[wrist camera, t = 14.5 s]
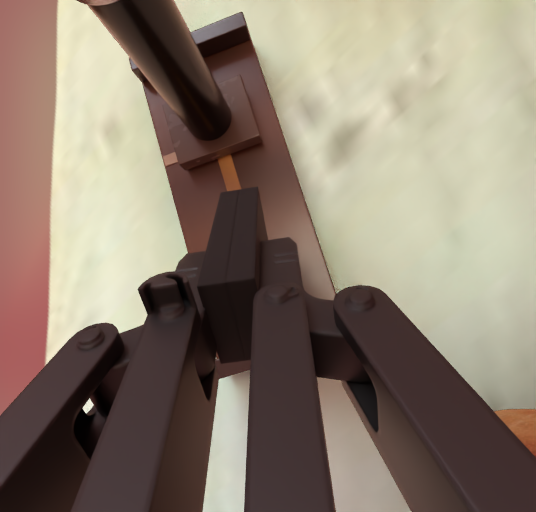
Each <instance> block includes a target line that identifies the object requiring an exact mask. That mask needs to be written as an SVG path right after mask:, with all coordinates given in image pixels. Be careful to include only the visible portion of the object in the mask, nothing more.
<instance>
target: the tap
mask: <svg viewBox="0 0 536 512" xmlns="http://www.w3.org/2000/svg"><path fill="white" fill-rule="evenodd" d="M77 1H79V2H81V3H84V4H87V5H88V6H89V7H90V9H91V10H92V11H93V12H94V14H95V15H96V16H97V17H98V18H99V20H100V21H101V22H102V23H103V25H104V26H105V27H106V28H107V30H108V31H109V32H110V33H111V35H112V36H113V37H114V38H115V40H116V41H117V42H118V43H119V45H120V46H121V47H122V48H123V49H124V51H125V52H126V53H127V54H128V56H129V57H130V58H131V59H132V61H133V62H134V63H135V64H136V66H137V67H138V68H139V69H140V71H141V72H142V73H143V74H144V75H145V77H146V78H147V79H148V80H149V82H150V83H151V84H152V85H153V87H154V88H155V89H156V90H157V92H158V93H159V94H160V95H161V97H162V98H163V99H164V100H165V102H166V103H165V104H163V105H162V106H163V110H164V113H165V117H166V121H167V124H168V128H169V132H170V135H171V139H172V142H173V146H174V150H175V153H176V157H177V160H178V164H179V165H180V166H181V167H182V168H183V169H184V170H188V169H190V168H193V167H196V166H198V165H201V164H204V163H207V162H209V161H212V160H215V159H218V158H220V157H223V156H226V155H229V154H231V153H234V152H237V151H240V150H242V149H245V148H248V147H251V146H253V145H256V144H259V143H262V142H263V141H262V138H261V135H260V131H259V128H258V125H257V122H256V119H255V116H254V113H253V110H252V107H251V103H250V100H249V97H248V94H247V91H246V88H245V85H244V82H243V80H242V77H241V75H238V76H235V77H233V78H230V79H227V80H225V81H222V82H220V83H216V81H215V79H214V77H213V75H212V73H211V71H210V69H209V67H208V65H207V63H206V61H205V60H204V58H203V56H202V54H201V52H200V50H199V48H198V46H197V44H196V42H195V40H194V38H193V36H192V34H191V33H190V31H189V29H188V27H187V25H186V23H185V21H184V19H183V17H182V15H181V13H180V11H179V9H178V7H177V6H176V4H175V2H174V0H77Z"/></svg>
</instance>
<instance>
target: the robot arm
mask: <svg viewBox="0 0 536 512" xmlns="http://www.w3.org/2000/svg"><path fill="white" fill-rule="evenodd" d="M138 291H139V294H140V296H141V299H142V301H143V304H144V306H145V309H146V311H147V314H148V315H147V318H146V321H145V323H144V325H141V326H139V327H137V328H134V329H131V330H128V331H125V332H123V333H120V334H119V332H118V330H117V328H116V327H115V326H114V325H113V324H109V323H99V324H94V325H92V326H88V327H86V328H84V329H83V330H81V331H79V332H77V333H76V334H75V335H74V336H73V337H72V338H70V339H69V340H68V342H67V343H66V344H65V345H64V346H63V347H62V348H61V349H60V350H59V351H58V353H57V354H56V355H55V356H54V357H53V358H52V359H51V360H50V361H49V362H48V364H47V365H46V366H45V367H44V368H43V369H42V370H41V371H40V372H39V374H38V375H37V376H36V377H35V378H34V379H33V380H32V381H31V382H30V383H29V385H28V386H27V387H26V388H25V389H24V390H23V391H22V392H21V393H20V394H19V396H18V397H17V398H16V399H15V400H14V401H13V402H12V403H11V404H10V405H9V407H8V408H7V409H6V410H5V411H4V412H3V413H2V414H1V416H0V512H202V510H203V502H204V494H205V486H206V478H207V470H208V461H209V453H210V445H211V437H212V429H213V421H214V413H215V405H216V397H217V389H218V381H219V376H218V371H217V367H216V364H215V359H216V352H217V353H218V357H219V360H220V363H221V364H224V363H232V362H239V361H247V360H251V366H250V389H249V412H248V435H247V458H246V481H245V504H244V512H336V510H335V503H334V496H333V489H332V482H331V475H330V468H329V461H328V454H327V447H326V440H325V433H324V426H323V419H322V412H321V405H320V398H319V391H318V383H317V377H322V378H329V379H336V380H341V381H342V385H343V387H344V389H345V391H346V393H347V394H348V396H349V398H350V400H351V402H352V404H353V405H354V407H355V409H356V411H357V413H358V414H359V416H360V418H361V420H362V422H363V424H364V425H365V427H366V429H367V431H368V433H369V435H370V436H371V438H372V440H373V442H374V444H375V446H376V447H377V449H378V451H379V453H380V455H381V457H382V458H383V460H384V462H385V464H386V466H387V468H388V469H389V471H390V473H391V475H392V477H393V478H394V480H395V482H396V484H397V486H398V488H399V489H400V491H401V493H402V495H403V497H404V499H405V500H406V502H407V504H408V506H409V508H410V510H411V511H412V512H536V457H535V456H534V455H533V454H532V453H531V452H530V450H529V449H528V448H527V447H526V446H525V445H524V444H523V443H522V442H521V441H520V440H519V438H518V437H517V436H516V435H515V434H514V433H513V432H512V431H511V430H510V429H509V428H508V426H507V425H506V424H505V423H504V422H503V421H502V420H501V419H500V418H499V417H498V416H497V414H496V413H495V412H494V411H493V410H492V409H491V408H490V407H489V406H488V405H487V404H486V402H485V401H484V400H483V399H482V398H481V397H480V396H479V395H478V394H477V393H476V392H475V391H474V389H473V388H472V387H471V386H470V385H469V384H468V383H467V382H466V381H465V380H464V379H463V377H462V376H461V375H460V374H459V373H458V372H457V371H456V370H455V369H454V368H453V367H452V365H451V364H450V363H449V362H448V361H447V360H446V359H445V358H444V357H443V356H442V355H441V353H440V352H439V351H438V350H437V349H436V348H435V347H434V346H433V345H432V344H431V343H430V341H429V340H428V339H427V338H426V337H425V336H424V335H423V334H422V333H421V332H420V331H419V330H418V328H417V327H416V326H415V325H414V324H413V323H412V322H411V321H410V320H409V319H408V318H407V316H406V315H405V314H404V313H403V312H402V311H401V310H400V309H399V308H398V307H397V306H396V304H395V303H394V302H393V301H392V300H391V299H390V298H389V297H388V296H387V295H386V294H385V293H384V292H383V291H381V290H380V289H378V288H374V287H371V286H362V285H358V286H352V287H348V288H346V289H343V290H341V291H340V292H339V293H338V294H336V295H335V297H334V300H325V299H319V298H316V297H313V296H311V295H310V294H308V293H307V292H306V291H305V290H304V287H303V282H302V276H301V269H300V262H299V256H298V249H297V243H296V242H295V241H293V240H292V239H291V238H290V237H285V238H279V239H272V240H268V236H267V231H266V226H265V220H264V215H263V210H262V205H261V199H260V194H259V189H258V186H257V187H251V188H245V189H239V190H233V191H227V192H221V193H220V197H219V201H218V205H217V209H216V213H215V217H214V221H213V225H212V229H211V233H210V237H209V241H208V245H207V248H206V251H201V252H194V253H188V254H186V255H185V256H184V257H183V258H182V259H181V260H180V261H179V263H178V266H177V268H176V272H166V273H162V274H158V275H156V276H154V277H151V278H149V279H148V280H146V281H145V282H144V283H142V285H141V286H140V287H139V288H138ZM89 398H90V399H91V401H92V403H93V404H94V406H93V407H92V409H91V410H90V411H89V412H88V413H87V414H86V413H85V412H84V410H83V409H82V408H83V406H84V405H85V404H86V402H87V401H88V399H89Z"/></svg>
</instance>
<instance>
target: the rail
mask: <svg viewBox="0 0 536 512" xmlns="http://www.w3.org/2000/svg"><path fill="white" fill-rule="evenodd" d="M190 33H191V34H192V36H193V38H194V40H195V42H196V44H197V46H198V48H199V50H200V52H201V54H202V56H203V58H204V60H205V61H206V63H207V65H208V67H209V69H210V71H211V73H212V75H213V77H214V79H215V81H216V83H220V82H222V81H225V80H227V79H230V78H233V77H235V76H238V75H241V77H242V80H243V82H244V85H245V88H246V91H247V94H248V97H249V100H250V103H251V107H252V110H253V113H254V116H255V119H256V122H257V125H258V128H259V131H260V135H261V138H262V141H263V142H262V143H259V144H256V145H253V146H251V147H248V148H245V149H242V150H240V151H237V152H234V153H231V154H229V155H226V156H223V157H220V158H218V159H215V160H212V161H209V162H207V163H204V164H201V165H198V166H196V167H193V168H190V169H188V170H184V169H183V168H182V167H181V166H180V165H179V164H178V160H177V157H176V153H175V150H174V146H173V142H172V139H171V135H170V132H169V128H168V124H167V121H166V117H165V113H164V110H163V106H162V105H163V104H165V103H166V102H165V100H164V99H163V98H162V97H161V95H160V94H159V93H158V92H157V90H156V89H155V88H154V87H153V85H152V84H151V83H150V82H149V80H148V79H147V78H146V77H145V75H144V74H143V73H142V72H141V71H140V69H139V68H138V67H137V66H136V64H135V63H134V62H133V61H132V59H131V58H130V57H129V61H130V65H131V68H132V71H133V72H134V73H135V75H136V76H137V77H138V78H139V79H140V81H141V82H142V84H143V87H144V91H145V95H146V98H147V102H148V106H149V110H150V113H151V117H152V121H153V124H154V128H155V132H156V135H157V139H158V143H159V147H160V150H161V154H162V158H163V161H164V165H165V169H166V172H167V176H168V180H169V184H170V187H171V191H172V195H173V198H174V202H175V206H176V209H177V213H178V217H179V221H180V224H181V228H182V232H183V235H184V239H185V243H186V246H187V250H188V253H194V252H201V251H206V248H207V245H208V241H209V237H210V233H211V229H212V225H213V221H214V217H215V213H216V209H217V205H218V201H219V197H220V193H221V192H227V191H233V190H239V189H245V188H251V187H257V186H258V189H259V194H260V199H261V205H262V210H263V215H264V220H265V226H266V231H267V236H268V240H272V239H279V238H285V237H290V238H291V239H292V240H293V241H295V242H296V243H297V249H298V256H299V262H300V269H301V276H302V282H303V287H304V290H305V291H306V292H307V293H308V294H310V295H311V296H313V297H316V298H319V299H325V300H334V297H335V295H336V292H335V289H334V286H333V283H332V280H331V277H330V274H329V271H328V268H327V265H326V262H325V259H324V256H323V253H322V250H321V247H320V244H319V241H318V238H317V235H316V232H315V229H314V226H313V223H312V220H311V217H310V214H309V211H308V208H307V205H306V202H305V199H304V196H303V193H302V190H301V187H300V184H299V181H298V178H297V175H296V172H295V169H294V166H293V163H292V160H291V157H290V154H289V151H288V148H287V145H286V142H285V139H284V136H283V133H282V130H281V127H280V124H279V121H278V118H277V115H276V112H275V109H274V106H273V103H272V100H271V97H270V94H269V91H268V88H267V85H266V82H265V79H264V76H263V73H262V70H261V67H260V64H259V61H258V58H257V55H256V52H255V49H254V46H253V43H252V40H251V37H250V34H249V30H248V27H247V24H246V21H245V18H244V15H243V13H242V12H239V13H237V14H235V15H232V16H230V17H227V18H225V19H222V20H220V21H217V22H215V23H212V24H210V25H207V26H205V27H203V28H200V29H198V30H195V31H193V32H190ZM216 357H217V359H215V364H216V367H217V371H218V376H219V379H220V378H224V377H227V376H230V375H234V374H237V373H240V372H244V371H247V370H250V366H251V360H247V361H239V362H232V363H224V364H221V363H220V360H219V357H218V353H217V352H216Z"/></svg>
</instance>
